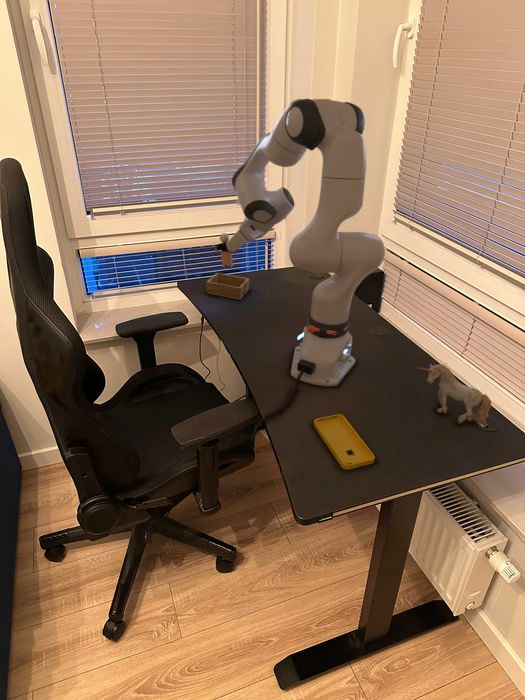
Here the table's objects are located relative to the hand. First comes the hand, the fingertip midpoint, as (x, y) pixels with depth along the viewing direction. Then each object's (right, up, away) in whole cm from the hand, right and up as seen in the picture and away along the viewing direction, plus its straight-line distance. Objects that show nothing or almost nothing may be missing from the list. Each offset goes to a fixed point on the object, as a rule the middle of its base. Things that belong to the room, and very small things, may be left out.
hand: (230, 247), depth 181 cm
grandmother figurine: (-2, -6, +5) cm, 8 cm away
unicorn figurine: (+59, -55, -51) cm, 95 cm away
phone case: (+31, -59, -60) cm, 90 cm away
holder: (-1, -15, +9) cm, 17 cm away
